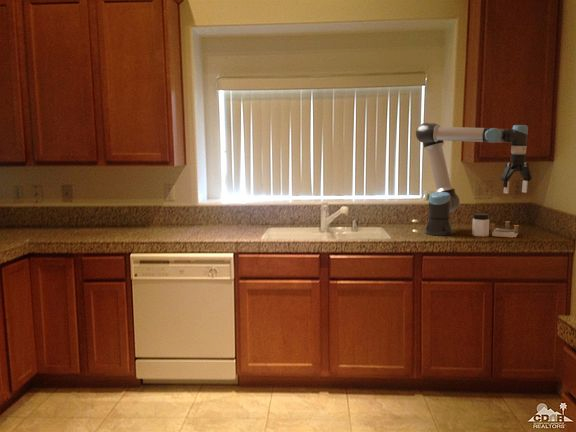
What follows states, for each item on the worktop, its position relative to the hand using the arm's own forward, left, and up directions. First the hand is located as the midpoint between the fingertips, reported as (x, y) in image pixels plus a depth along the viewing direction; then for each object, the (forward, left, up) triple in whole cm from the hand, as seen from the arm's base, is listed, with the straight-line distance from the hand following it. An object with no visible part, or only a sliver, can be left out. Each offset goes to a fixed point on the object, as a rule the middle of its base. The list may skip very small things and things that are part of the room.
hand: (515, 192), depth 277 cm
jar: (-16, -5, -24) cm, 30 cm away
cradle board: (-4, +3, -24) cm, 25 cm away
